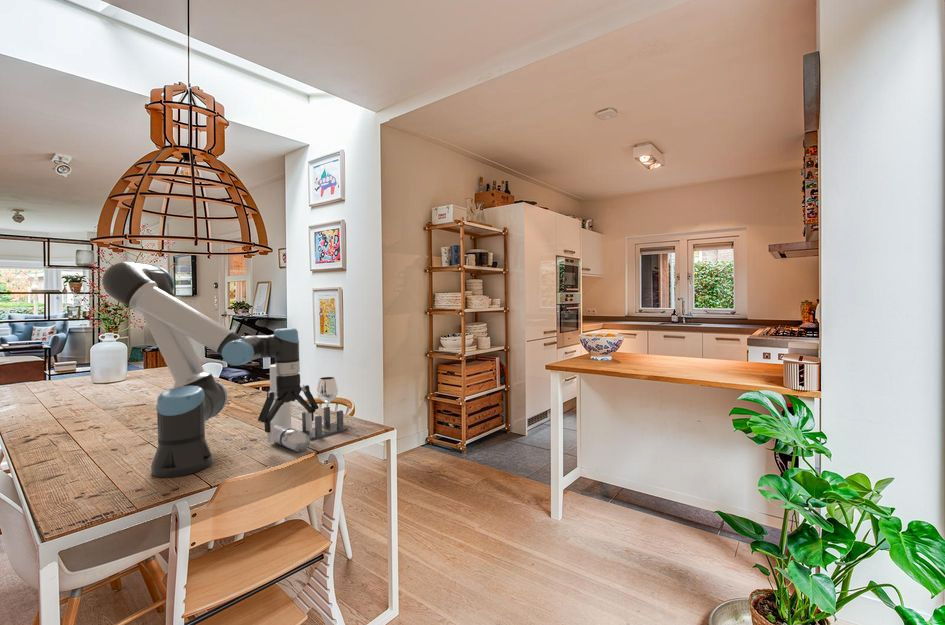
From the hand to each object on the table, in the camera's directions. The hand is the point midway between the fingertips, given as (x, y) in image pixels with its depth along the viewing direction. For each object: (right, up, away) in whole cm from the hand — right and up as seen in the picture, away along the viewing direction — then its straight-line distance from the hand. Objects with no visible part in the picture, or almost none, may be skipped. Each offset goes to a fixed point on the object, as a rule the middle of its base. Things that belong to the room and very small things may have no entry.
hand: (290, 436), depth 147 cm
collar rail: (+6, -3, +16) cm, 17 cm away
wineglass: (+3, -3, +30) cm, 30 cm away
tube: (0, -4, 0) cm, 4 cm away
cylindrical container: (-12, -3, +19) cm, 23 cm away
